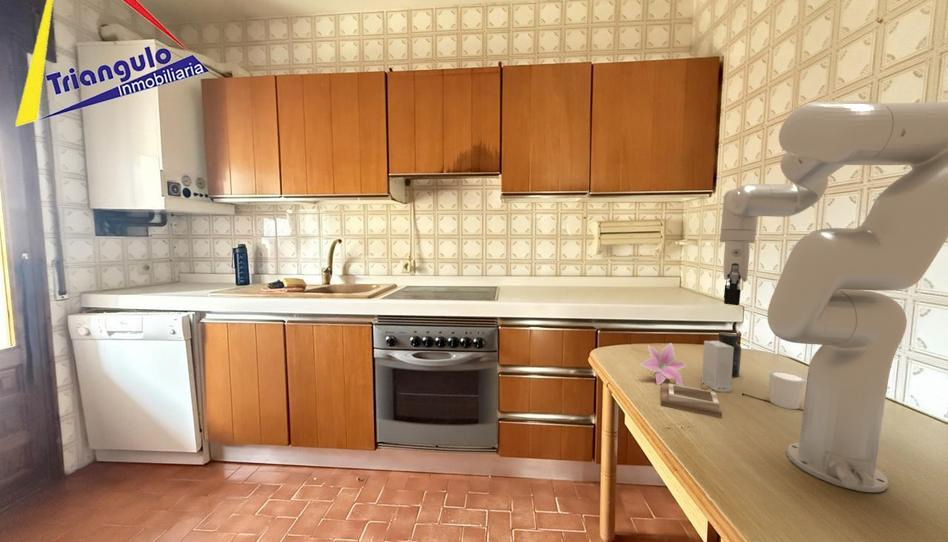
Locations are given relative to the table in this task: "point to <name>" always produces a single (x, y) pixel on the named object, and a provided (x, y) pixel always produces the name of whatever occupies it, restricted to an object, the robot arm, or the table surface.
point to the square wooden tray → (690, 399)
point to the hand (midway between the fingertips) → (731, 301)
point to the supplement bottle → (732, 341)
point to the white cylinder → (786, 389)
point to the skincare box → (717, 365)
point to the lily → (664, 364)
